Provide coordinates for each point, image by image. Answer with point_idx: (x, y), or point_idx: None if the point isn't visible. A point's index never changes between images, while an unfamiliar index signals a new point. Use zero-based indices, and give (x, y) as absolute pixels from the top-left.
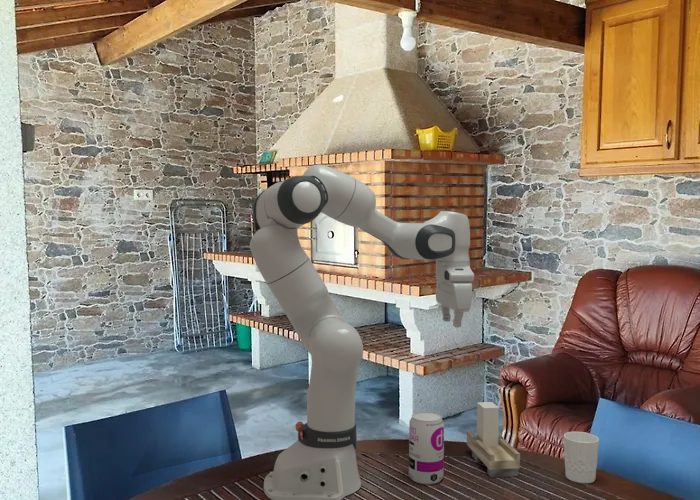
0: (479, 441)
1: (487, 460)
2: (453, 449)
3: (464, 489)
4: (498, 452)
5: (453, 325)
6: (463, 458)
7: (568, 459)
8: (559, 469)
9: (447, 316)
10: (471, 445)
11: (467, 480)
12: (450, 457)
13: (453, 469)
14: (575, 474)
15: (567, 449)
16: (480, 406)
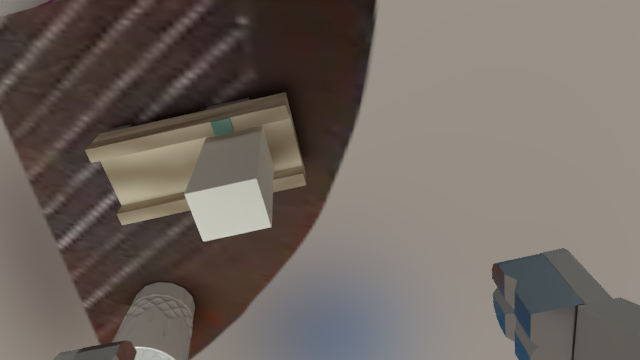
0: (196, 133)
1: (109, 137)
2: (301, 48)
3: (6, 54)
4: (168, 172)
5: (103, 347)
6: (232, 71)
7: (135, 314)
8: (204, 277)
9: (526, 333)
10: (243, 105)
11: (71, 68)
12: (233, 33)
13: (140, 35)
14: (132, 303)
15: (129, 329)
16: (219, 184)
